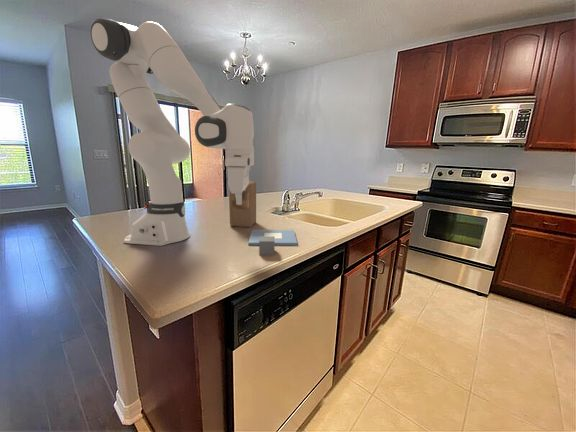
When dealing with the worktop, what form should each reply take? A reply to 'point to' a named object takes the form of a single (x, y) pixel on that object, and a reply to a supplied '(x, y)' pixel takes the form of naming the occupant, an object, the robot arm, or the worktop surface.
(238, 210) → the block
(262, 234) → the board
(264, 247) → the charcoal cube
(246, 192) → the walnut cube
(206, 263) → the worktop surface
